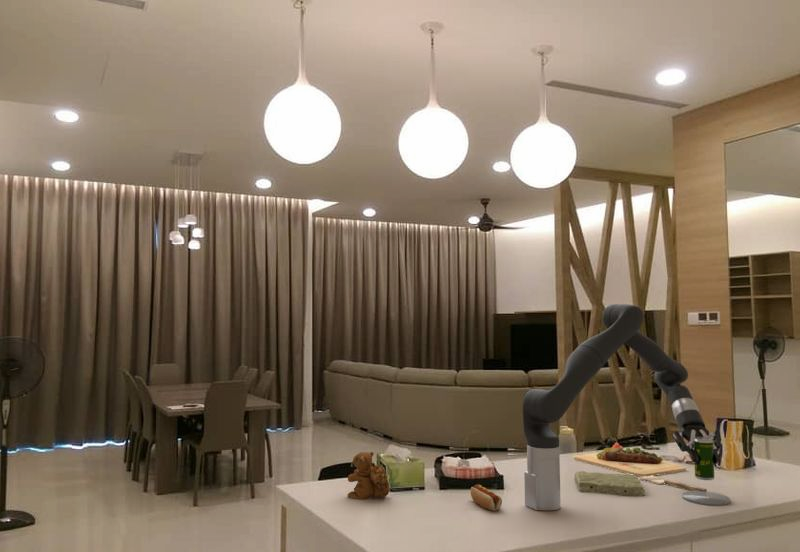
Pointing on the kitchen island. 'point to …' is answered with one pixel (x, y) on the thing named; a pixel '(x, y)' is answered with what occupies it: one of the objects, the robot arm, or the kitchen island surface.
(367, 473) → the stuffed squirrel
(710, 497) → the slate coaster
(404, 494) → the kitchen island surface
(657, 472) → the cutting board
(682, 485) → the beech turner
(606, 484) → the decorative tile
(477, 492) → the food
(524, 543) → the kitchen island surface
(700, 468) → the beer can
